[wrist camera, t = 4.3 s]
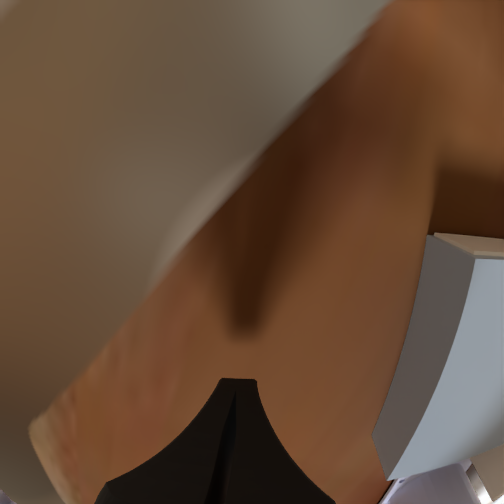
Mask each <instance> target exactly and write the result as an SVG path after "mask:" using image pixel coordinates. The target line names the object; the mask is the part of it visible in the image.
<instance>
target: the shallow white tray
mask: <svg viewBox="0 0 504 504" xmlns="http://www.w3.org/2000/svg"><path fill="white" fill-rule="evenodd" d="M470 460H471V462H472V464H473V465H474V467H475V469H476V471H477V473H478V475H479V477H480V478H481V480H482V482H483V484H484V486H485V488H486V490H487V492H488V494H489V496H490V498H491V500H492V501H493V502H494V501H495V500H497V499H498V498H499V497H501V496H502V495H503V494H504V444H502V445H500V446H498V447H496V448H493V449H491V450H488V451H486V452H484V453H481V454H478V455H476V456H473V457H470Z"/></svg>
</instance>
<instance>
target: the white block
mask: <svg viewBox="0 0 504 504" xmlns="http://www.w3.org/2000/svg"><path fill="white" fill-rule="evenodd" d="M372 438H373V441H374V444H375V447H376V450H377V453H378V456H379V459H380V462H381V465H382V468H383V471H384V474H385V477H386V480H387V481H388V480H393V479H398V478H402V477H407V476H411V475H415V474H419V473H423V472H427V471H430V470H434V469H437V468H441V467H444V466H447V465H450V464H453V463H456V462H459V461H462V460H465V459H468V458H470V457H473V456H476V455H478V454H481V453H484V452H486V451H488V450H491V449H493V448H496V447H498V446H500V445H502V444H504V239H498V238H488V237H478V236H468V235H458V234H447V233H435V232H434V235H427V238H426V245H425V251H424V257H423V263H422V269H421V274H420V279H419V284H418V289H417V294H416V298H415V303H414V307H413V311H412V315H411V319H410V323H409V327H408V331H407V334H406V338H405V342H404V345H403V349H402V352H401V355H400V359H399V362H398V365H397V368H396V371H395V374H394V377H393V380H392V383H391V386H390V389H389V392H388V395H387V397H386V400H385V403H384V405H383V408H382V411H381V413H380V416H379V418H378V421H377V423H376V425H375V428H374V430H373V433H372Z"/></svg>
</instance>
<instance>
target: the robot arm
mask: <svg viewBox="0 0 504 504" xmlns="http://www.w3.org/2000/svg"><path fill="white" fill-rule="evenodd" d="M471 464H472V462H471V460H470V458H468V459H465V460H462V461H459V462H456V463H453V464H450V465H447V466H444V467H441V468H437V469H434V470H430V471H427V472H423V473H419V474H415V475H411V476H407V477H402V478H398V479H395V480H394V482H393V483H392V485H391V486H390V488H389V490H388V491H387V493H386V494H385V496H384V497H383V499H382V500H381V501H380V503H379V504H481V502H480V500H479V498H478V496H477V494H476V492H475V490H474V488H473V486H472V484H471V482H470V480H469V478H468V476H467V474H466V471H467V469H468V468H469V467H470V465H471ZM0 504H16V503H15V502H13V501H11V499H10V498H9V497H8V496H7V495H6V494H5V493H4V492H3V491H2V490H1V489H0ZM95 504H336V503H335V501H334V500H333V499H332V498H330V497H329V496H328V495H327V494H325V493H324V492H323V491H322V490H321V489H320V488H319V487H317V486H316V485H315V484H314V483H313V482H312V481H311V480H310V479H309V478H308V477H307V476H306V475H305V473H304V472H303V471H302V470H301V469H300V468H299V467H298V465H297V464H296V463H295V462H294V461H293V459H292V458H291V457H290V455H289V454H288V453H287V451H286V450H285V448H284V447H283V445H282V444H281V442H280V441H279V439H278V437H277V436H276V434H275V432H274V430H273V428H272V426H271V424H270V422H269V420H268V418H267V416H266V413H265V411H264V408H263V406H262V403H261V400H260V397H259V393H258V388H257V381H256V380H255V379H233V378H222V379H220V380H219V382H218V384H217V386H216V388H215V390H214V391H213V393H212V395H211V396H210V398H209V399H208V401H207V402H206V404H205V405H204V406H203V408H202V409H201V410H200V412H199V413H198V414H197V416H196V417H195V418H194V419H193V420H192V421H191V423H190V424H189V425H188V426H187V427H186V428H185V429H184V430H183V432H182V433H181V434H180V435H179V436H177V437H176V438H175V439H174V440H173V441H172V442H171V443H170V444H169V445H167V446H166V447H165V448H164V449H163V450H161V451H160V452H159V453H158V454H156V455H155V456H153V457H152V458H151V459H149V460H147V461H146V462H144V463H143V464H141V465H140V466H138V467H136V468H135V469H133V470H131V471H129V472H127V473H125V474H123V475H121V476H119V477H117V478H115V479H113V480H111V481H108V482H106V484H105V485H104V487H103V488H102V490H101V491H100V493H99V495H98V497H97V499H96V501H95Z"/></svg>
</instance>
